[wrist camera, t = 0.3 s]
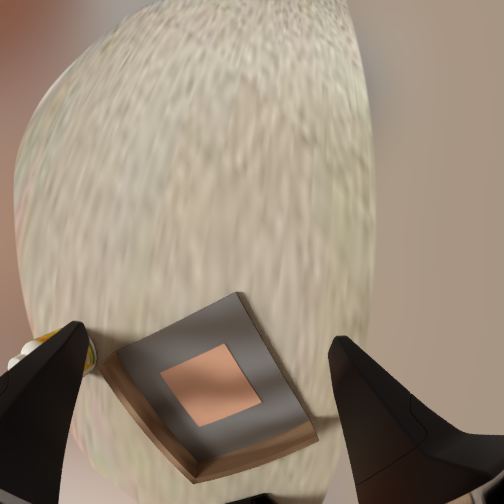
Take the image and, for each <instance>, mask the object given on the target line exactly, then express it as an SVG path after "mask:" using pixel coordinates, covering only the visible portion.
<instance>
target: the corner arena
mask: <svg viewBox="0 0 504 504" xmlns="http://www.w3.org/2000/svg"><path fill="white" fill-rule="evenodd" d="M97 367H98V369H99V370H100V372H101V374H102V375H103V377H104V378H105V380H106V381H107V383H108V384H109V386H110V387H111V389H112V390H113V392H114V393H115V395H116V396H117V398H118V399H119V400H120V402H121V403H122V405H123V406H124V407H125V409H126V410H127V411H128V413H129V414H130V415H131V417H132V418H133V419H134V420H135V422H136V423H137V424H138V425H139V427H140V428H141V429H142V430H143V432H144V433H145V434H146V435H147V436H148V438H149V439H150V440H151V441H152V442H153V443H154V444H155V446H156V447H157V448H158V449H159V450H160V451H161V452H162V453H163V454H164V455H165V457H166V458H167V459H168V460H169V461H170V462H171V463H172V464H173V465H174V466H175V467H176V468H177V469H178V470H179V471H180V472H181V473H182V474H183V475H184V476H185V477H186V478H187V479H188V480H189V481H190V482H192V483H193V484H196V483H201V482H205V481H210V480H214V479H218V478H221V477H225V476H229V475H232V474H235V473H239V472H242V471H245V470H248V469H251V468H254V467H257V466H260V465H263V464H266V463H268V462H271V461H274V460H276V459H279V458H281V457H284V456H286V455H289V454H291V453H294V452H296V451H298V450H300V449H303V448H305V447H307V446H309V445H311V444H314V443H316V442H318V441H319V439H318V436H317V434H316V432H315V429H314V427H313V424H312V422H311V420H310V419H309V417H308V415H307V414H306V412H305V410H304V409H303V407H302V406H301V404H300V402H299V401H298V399H297V397H296V396H295V394H294V392H293V391H292V389H291V387H290V386H289V384H288V382H287V381H286V379H285V377H284V376H283V374H282V372H281V370H280V369H279V367H278V365H277V364H276V362H275V360H274V359H273V357H272V355H271V353H270V352H269V350H268V348H267V346H266V345H265V343H264V341H263V339H262V338H261V336H260V334H259V332H258V331H257V329H256V327H255V325H254V324H253V322H252V320H251V318H250V316H249V315H248V313H247V311H246V309H245V307H244V306H243V304H242V302H241V300H240V298H239V297H238V295H237V293H236V292H234V293H232V294H230V295H228V296H226V297H224V298H223V299H221V300H219V301H217V302H215V303H213V304H211V305H209V306H207V307H205V308H203V309H201V310H199V311H197V312H195V313H193V314H191V315H190V316H188V317H186V318H184V319H182V320H180V321H178V322H176V323H174V324H172V325H170V326H168V327H166V328H164V329H162V330H160V331H158V332H156V333H154V334H152V335H149V336H147V337H145V338H143V339H141V340H139V341H137V342H135V343H133V344H131V345H129V346H127V347H125V348H123V349H121V350H119V351H116V352H114V353H112V354H111V355H110V356H109V357H107V358H106V359H105V360H104V361H102V362H101V363H100V364H99V365H97Z"/></svg>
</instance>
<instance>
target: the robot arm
mask: <svg viewBox="0 0 504 504" xmlns="http://www.w3.org/2000/svg"><path fill="white" fill-rule="evenodd" d="M89 342H90V341H89V336H88V334H87V331H86V328H85V326H84V324H83V323H82V322H79V321H72V322H70V323H69V324H67V325H66V326H65V327H63V328H62V329H61V330H59V331H58V332H57V333H55V334H54V335H53V336H51V337H50V338H49V339H47V340H46V341H45V342H43V343H42V344H41V345H39V346H38V347H37V348H36V349H34V350H33V351H32V352H30V353H29V354H28V355H27V356H25V357H24V358H23V359H22V360H20V361H19V362H18V363H17V364H15V365H14V366H13V367H12V368H10V369H9V370H8V371H7V372H5V373H4V374H3V375H2V376H0V504H58V501H59V490H60V482H61V474H62V466H63V459H64V454H65V448H66V442H67V438H68V433H69V428H70V424H71V419H72V415H73V411H74V407H75V403H76V399H77V396H78V392H79V388H80V385H81V381H82V377H83V373H84V367H85V362H86V357H87V352H88V348H89ZM328 359H329V366H330V373H331V380H332V387H333V393H334V397H335V401H336V405H337V409H338V413H339V417H340V421H341V425H342V429H343V433H344V437H345V442H346V446H347V450H348V455H349V459H350V464H351V468H352V473H353V477H354V482H355V487H356V492H357V497H358V502H359V504H504V435H479V434H478V435H477V434H468V433H465V432H462V431H460V430H459V429H457V428H455V427H454V426H453V425H451V424H450V423H448V422H447V421H446V420H444V419H443V418H441V417H440V416H438V415H437V414H436V413H435V412H433V411H432V410H431V409H429V408H428V407H427V406H425V405H424V404H423V403H422V402H421V401H420V400H418V399H417V398H416V397H415V396H414V395H413V394H410V392H409V391H408V390H407V389H406V388H405V387H404V386H403V385H401V384H400V383H399V382H398V381H397V380H396V379H394V378H393V377H392V376H391V375H390V374H389V373H388V372H387V371H385V369H383V368H382V367H381V366H380V365H379V364H378V363H377V362H375V361H374V360H373V359H372V358H371V357H370V356H369V355H368V354H366V353H365V352H364V351H363V350H362V349H361V348H360V347H359V346H358V345H356V344H355V343H354V342H353V341H352V340H351V339H350V338H349V337H347V336H345V335H344V336H336V337H335V338H334V339H333V342H332V344H331V347H330V349H329V352H328ZM227 504H277V503H276V502H274V501H273V500H272V499H271V498H270V497H269V496H268V495H267V494H261V495H258V496H254V497H251V498H247V499H243V500H239V501H235V502H231V503H227Z"/></svg>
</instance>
